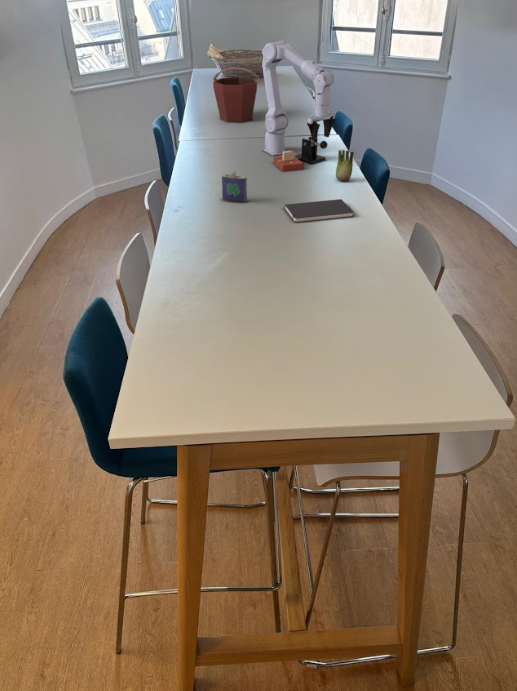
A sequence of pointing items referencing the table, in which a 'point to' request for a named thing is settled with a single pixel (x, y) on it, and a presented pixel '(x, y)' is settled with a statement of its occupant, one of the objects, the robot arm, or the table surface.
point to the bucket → (235, 96)
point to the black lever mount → (309, 152)
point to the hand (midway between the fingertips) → (320, 138)
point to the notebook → (318, 210)
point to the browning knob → (288, 155)
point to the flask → (234, 188)
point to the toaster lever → (319, 144)
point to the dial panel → (288, 164)
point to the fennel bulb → (344, 165)
